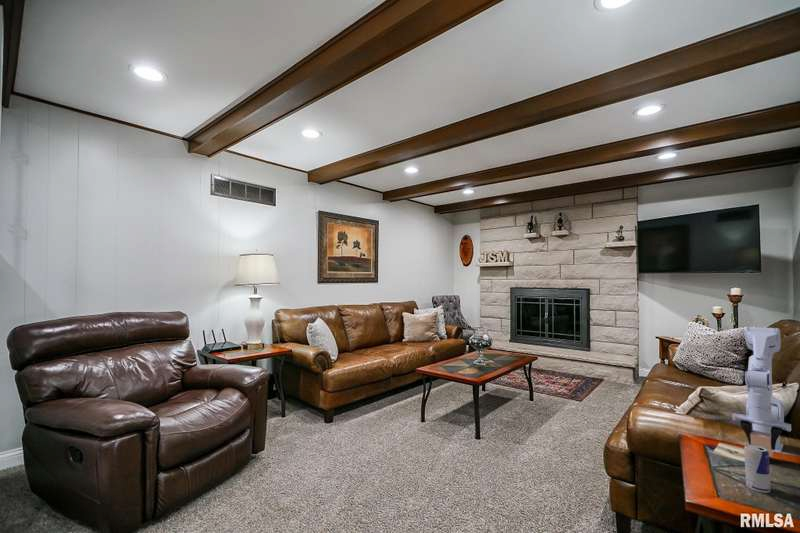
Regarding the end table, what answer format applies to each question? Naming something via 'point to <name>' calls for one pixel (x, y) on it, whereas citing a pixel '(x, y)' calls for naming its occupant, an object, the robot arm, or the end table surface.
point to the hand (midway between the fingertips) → (761, 446)
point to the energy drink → (757, 468)
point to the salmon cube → (762, 440)
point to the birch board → (730, 451)
